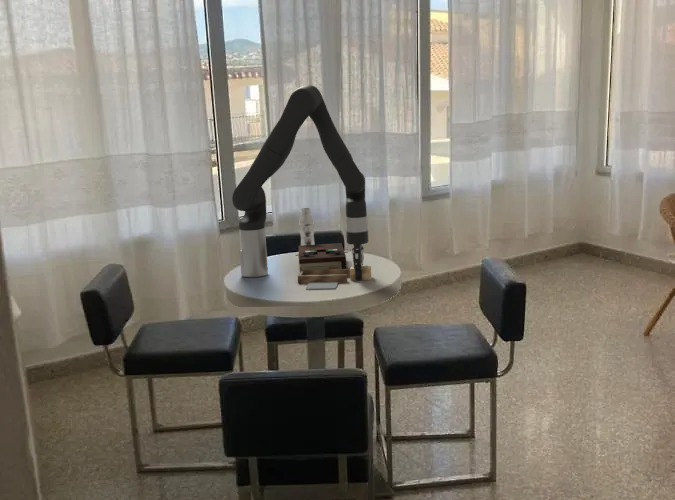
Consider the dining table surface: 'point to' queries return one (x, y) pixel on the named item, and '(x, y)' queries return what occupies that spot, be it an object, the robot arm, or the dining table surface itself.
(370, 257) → the dining table surface
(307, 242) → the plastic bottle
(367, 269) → the block
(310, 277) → the shelf bay
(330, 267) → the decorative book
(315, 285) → the rubber pad
